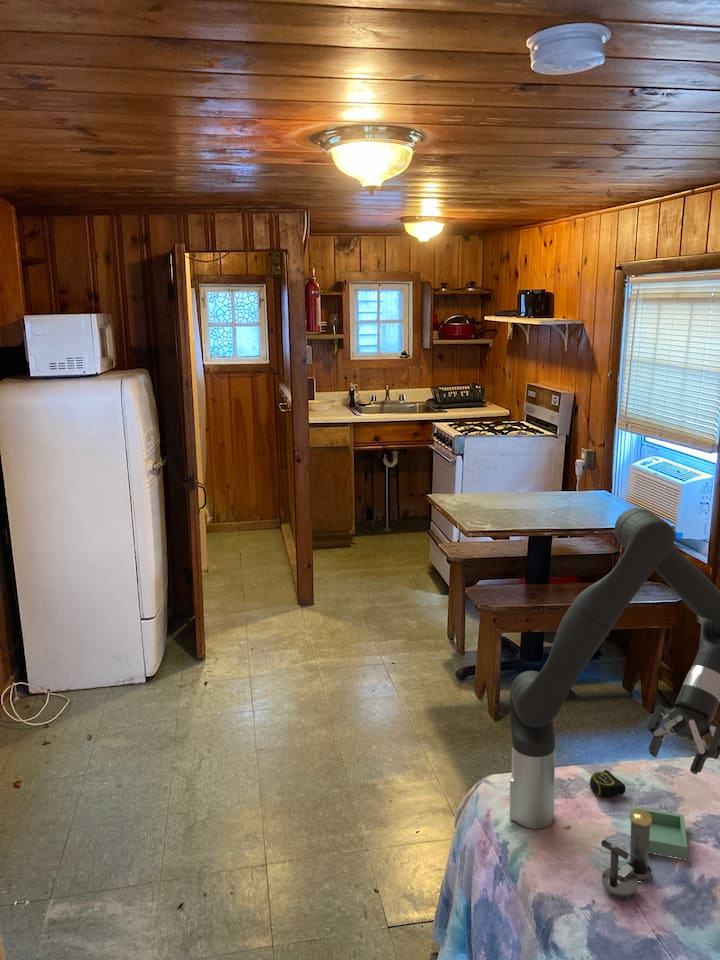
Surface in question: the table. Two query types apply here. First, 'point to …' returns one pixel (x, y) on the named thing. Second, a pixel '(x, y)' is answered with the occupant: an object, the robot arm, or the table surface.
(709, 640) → the robot arm
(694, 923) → the table surface
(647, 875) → the pin
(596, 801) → the table surface
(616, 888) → the t-handle
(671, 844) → the tray
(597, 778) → the tape measure
